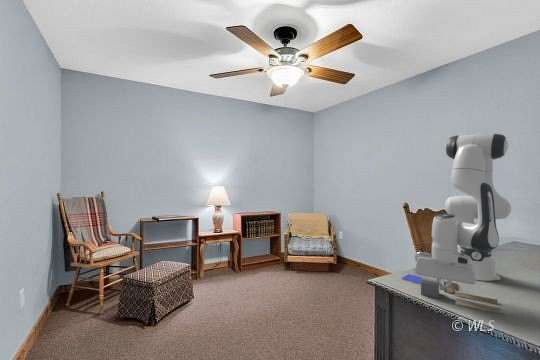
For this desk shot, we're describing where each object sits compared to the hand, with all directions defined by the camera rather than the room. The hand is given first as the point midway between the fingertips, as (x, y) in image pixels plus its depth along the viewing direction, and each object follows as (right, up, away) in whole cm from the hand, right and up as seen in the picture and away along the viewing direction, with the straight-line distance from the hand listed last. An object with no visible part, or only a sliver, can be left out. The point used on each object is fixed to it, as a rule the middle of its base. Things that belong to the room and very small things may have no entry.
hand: (444, 290), depth 110 cm
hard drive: (-1, -4, +17) cm, 17 cm away
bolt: (+9, -3, +10) cm, 14 cm away
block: (-4, -3, +3) cm, 6 cm away
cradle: (+8, -3, -3) cm, 9 cm away
